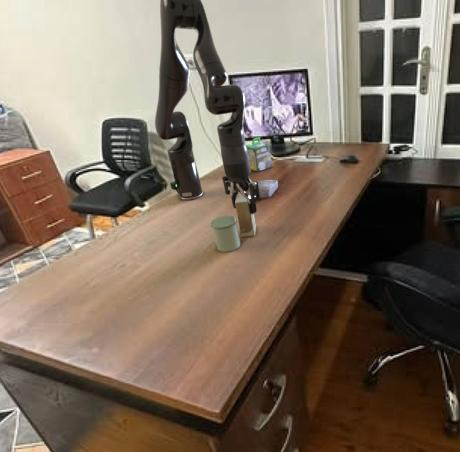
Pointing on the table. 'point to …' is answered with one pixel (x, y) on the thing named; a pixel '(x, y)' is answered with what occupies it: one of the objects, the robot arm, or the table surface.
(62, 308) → the table surface
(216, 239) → the canister
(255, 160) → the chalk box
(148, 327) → the table surface
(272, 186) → the stone block
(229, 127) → the robot arm
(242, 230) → the cosmetic box
